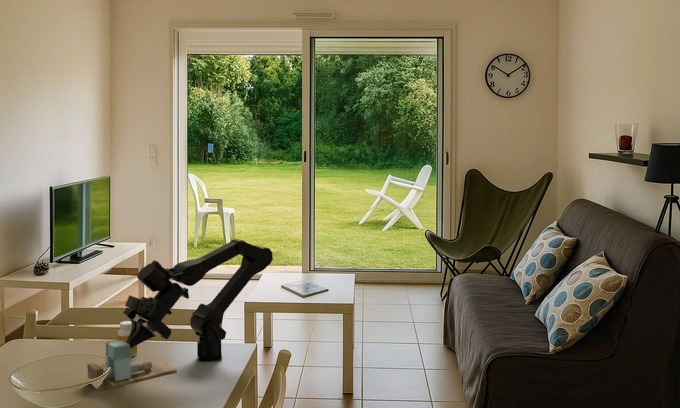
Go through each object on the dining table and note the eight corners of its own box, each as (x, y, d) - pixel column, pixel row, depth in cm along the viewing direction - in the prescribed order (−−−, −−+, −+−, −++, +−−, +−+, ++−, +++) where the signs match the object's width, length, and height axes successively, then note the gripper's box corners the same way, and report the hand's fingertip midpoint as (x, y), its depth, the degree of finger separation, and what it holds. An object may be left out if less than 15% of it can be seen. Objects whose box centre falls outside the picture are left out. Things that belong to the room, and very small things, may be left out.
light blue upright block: (121, 371, 185) (120, 339, 184) (130, 377, 180) (129, 344, 179) (106, 374, 182) (105, 342, 181) (116, 381, 178) (115, 347, 177)
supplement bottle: (131, 358, 199) (130, 325, 198) (114, 356, 200) (113, 324, 199) (140, 352, 204) (139, 320, 203) (124, 351, 205) (123, 319, 204)
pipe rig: (163, 363, 194) (163, 346, 194) (176, 371, 188) (176, 353, 188) (86, 382, 180) (85, 362, 179) (98, 390, 174) (97, 371, 173)
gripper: (129, 278, 191) (91, 323, 185) (159, 290, 177) (119, 340, 171) (155, 301, 197) (119, 346, 191) (187, 315, 183) (149, 363, 177)
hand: (126, 348), depth 182 cm, fingers closed, pressing on light blue upright block
